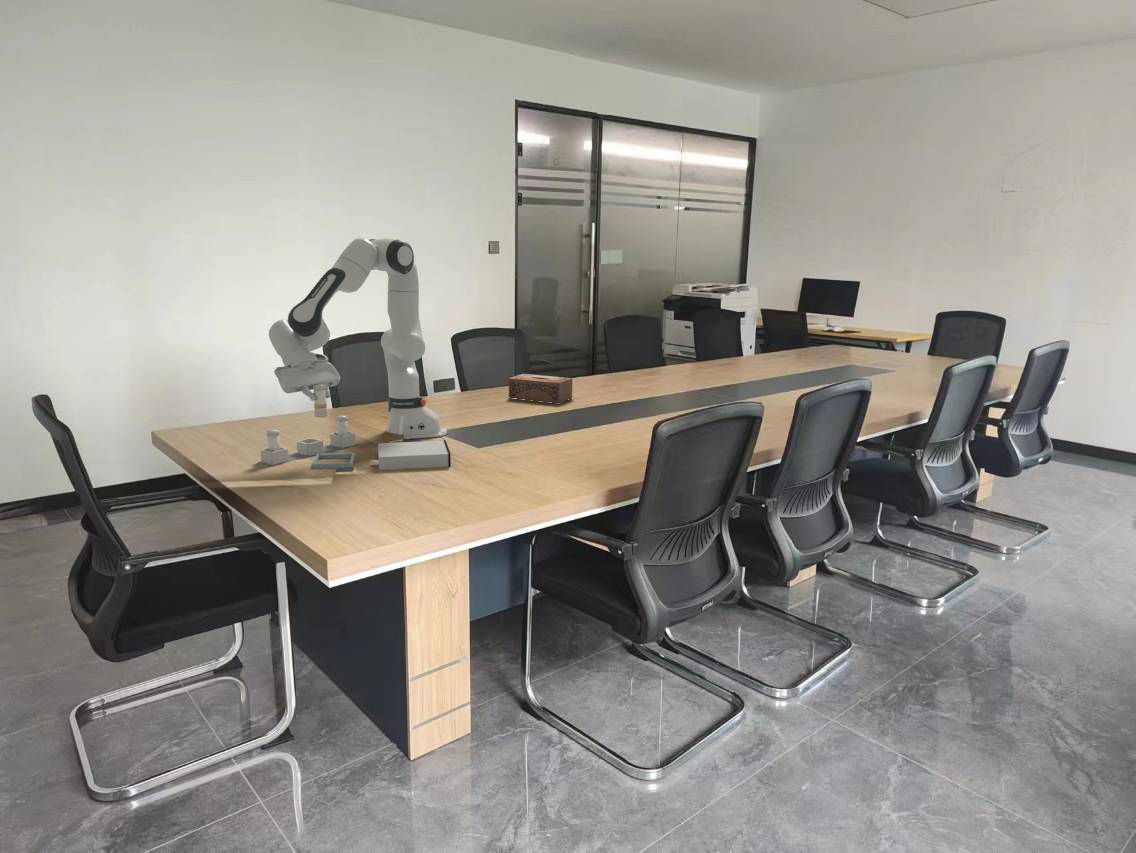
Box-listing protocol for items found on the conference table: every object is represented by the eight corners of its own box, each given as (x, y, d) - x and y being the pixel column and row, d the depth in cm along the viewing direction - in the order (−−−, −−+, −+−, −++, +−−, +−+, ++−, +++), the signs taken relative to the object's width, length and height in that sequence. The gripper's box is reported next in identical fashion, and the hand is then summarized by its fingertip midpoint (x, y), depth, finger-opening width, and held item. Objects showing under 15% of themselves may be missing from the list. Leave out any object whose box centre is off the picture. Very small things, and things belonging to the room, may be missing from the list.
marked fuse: (328, 414, 250) (326, 384, 248) (326, 417, 247) (324, 386, 244) (315, 414, 250) (314, 384, 248) (313, 417, 246) (312, 386, 244)
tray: (355, 461, 254) (355, 453, 254) (352, 471, 243) (351, 463, 242) (317, 462, 252) (316, 454, 252) (312, 472, 241) (311, 464, 240)
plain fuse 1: (282, 459, 249) (280, 429, 247) (280, 462, 246) (278, 431, 244) (269, 459, 249) (267, 429, 247) (267, 463, 245) (265, 432, 243)
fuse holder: (257, 466, 246) (256, 449, 245) (346, 445, 274) (345, 429, 273) (270, 470, 242) (269, 453, 241) (359, 448, 271) (358, 432, 269)
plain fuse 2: (349, 443, 271) (348, 415, 269) (348, 445, 267) (347, 417, 265) (338, 443, 270) (336, 415, 268) (336, 446, 267) (335, 417, 264)
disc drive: (451, 468, 251) (450, 453, 249) (379, 471, 245) (378, 456, 244) (446, 453, 267) (445, 439, 266) (378, 456, 262) (378, 442, 261)
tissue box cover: (572, 399, 364) (572, 378, 362) (559, 404, 351) (559, 383, 349) (522, 394, 374) (522, 373, 372) (508, 399, 361) (508, 378, 359)
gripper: (275, 361, 240) (297, 396, 237) (330, 354, 256) (351, 387, 253) (268, 374, 243) (289, 409, 240) (322, 366, 260) (343, 399, 256)
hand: (321, 398), depth 247 cm, fingers closed on marked fuse, 4 cm apart
